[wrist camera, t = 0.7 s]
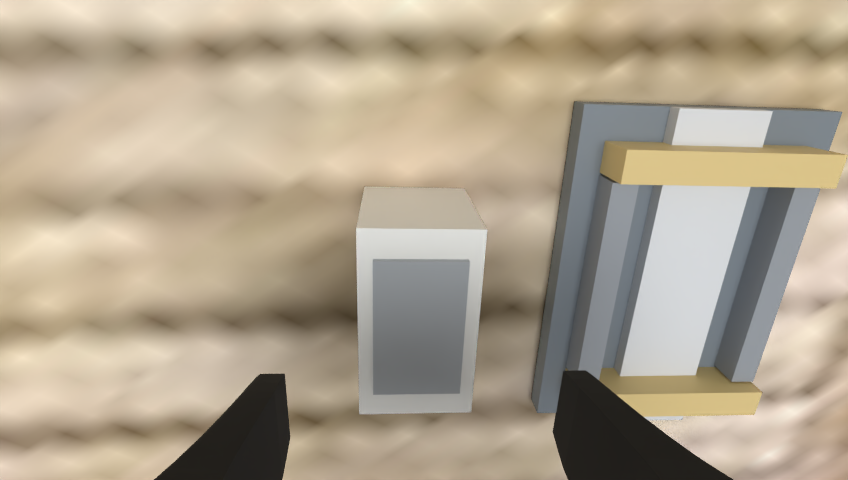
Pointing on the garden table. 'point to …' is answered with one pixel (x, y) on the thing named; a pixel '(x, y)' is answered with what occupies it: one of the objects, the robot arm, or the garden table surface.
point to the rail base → (678, 249)
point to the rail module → (418, 299)
